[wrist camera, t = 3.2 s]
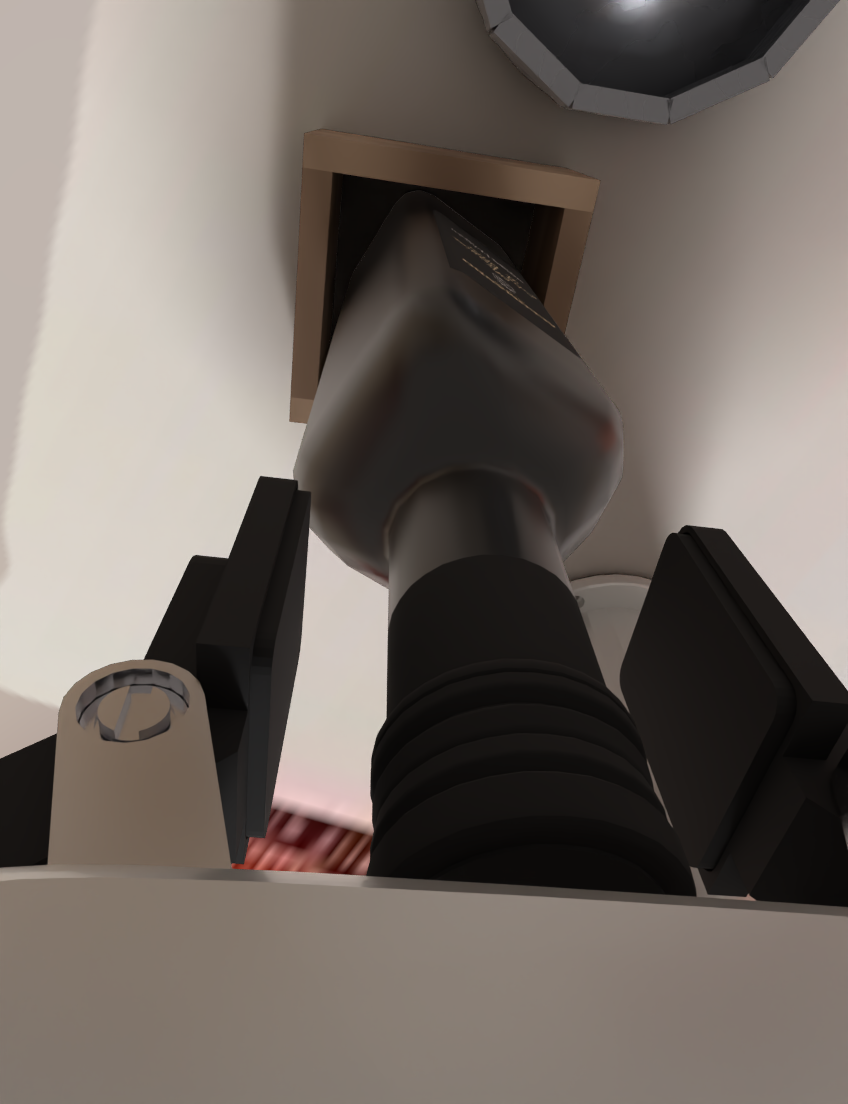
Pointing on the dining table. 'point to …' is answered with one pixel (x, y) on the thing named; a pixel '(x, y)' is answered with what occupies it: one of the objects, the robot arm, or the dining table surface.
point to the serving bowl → (649, 50)
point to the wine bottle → (480, 569)
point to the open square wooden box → (332, 154)
